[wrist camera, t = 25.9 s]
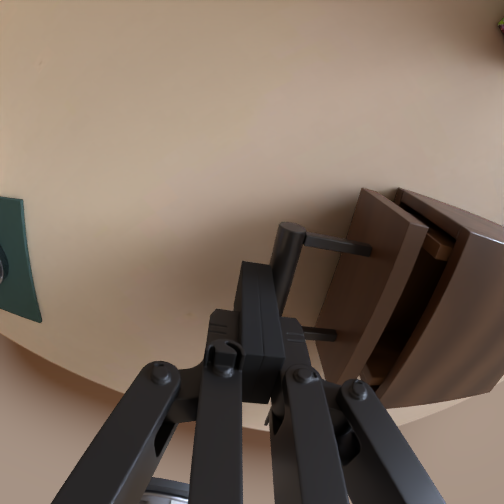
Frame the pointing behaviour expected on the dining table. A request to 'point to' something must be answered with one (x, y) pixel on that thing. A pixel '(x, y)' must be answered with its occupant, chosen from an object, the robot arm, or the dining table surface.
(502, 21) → the snack box
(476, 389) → the cabinet
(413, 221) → the drawer
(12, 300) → the mat
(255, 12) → the dining table surface
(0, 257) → the silver cylinder
